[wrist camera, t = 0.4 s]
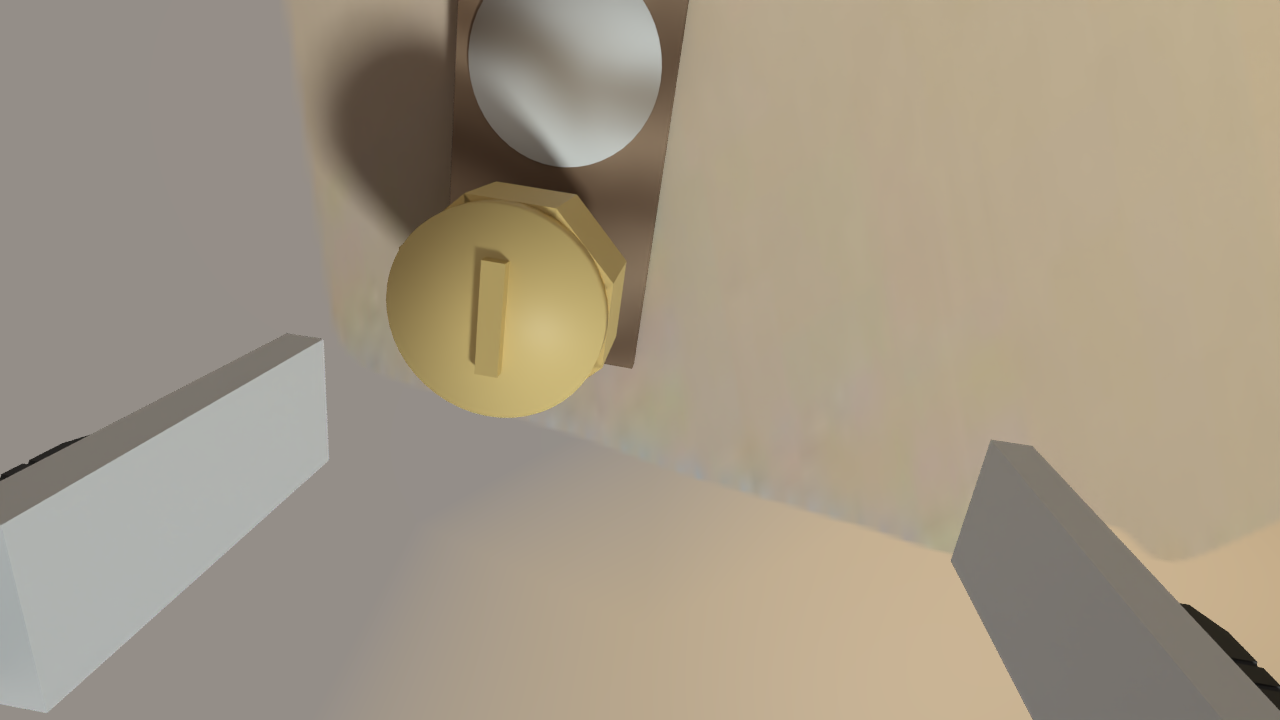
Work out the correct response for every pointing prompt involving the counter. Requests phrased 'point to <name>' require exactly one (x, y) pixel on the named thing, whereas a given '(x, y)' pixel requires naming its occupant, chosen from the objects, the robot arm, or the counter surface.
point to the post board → (572, 114)
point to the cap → (506, 299)
